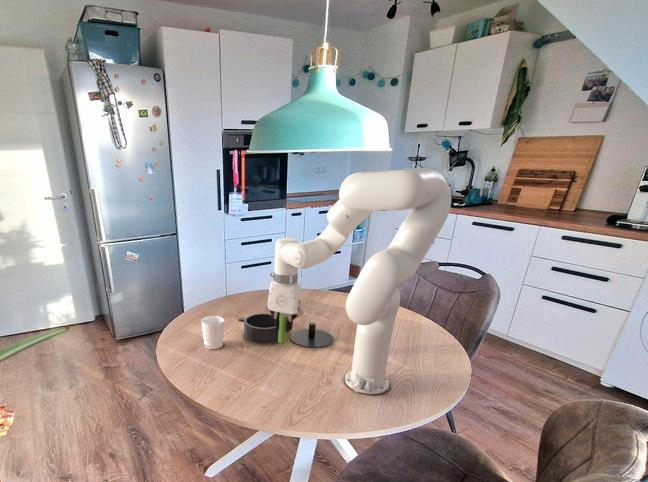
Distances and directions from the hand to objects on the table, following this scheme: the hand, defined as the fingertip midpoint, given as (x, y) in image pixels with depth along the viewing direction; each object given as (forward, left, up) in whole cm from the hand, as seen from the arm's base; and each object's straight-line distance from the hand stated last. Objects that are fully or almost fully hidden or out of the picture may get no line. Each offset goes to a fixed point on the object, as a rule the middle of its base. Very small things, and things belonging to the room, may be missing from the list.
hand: (283, 329), depth 132 cm
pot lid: (+13, -6, -8) cm, 16 cm away
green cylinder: (0, 0, -5) cm, 5 cm away
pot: (+8, +11, -8) cm, 16 cm away
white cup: (-7, +24, -9) cm, 26 cm away
